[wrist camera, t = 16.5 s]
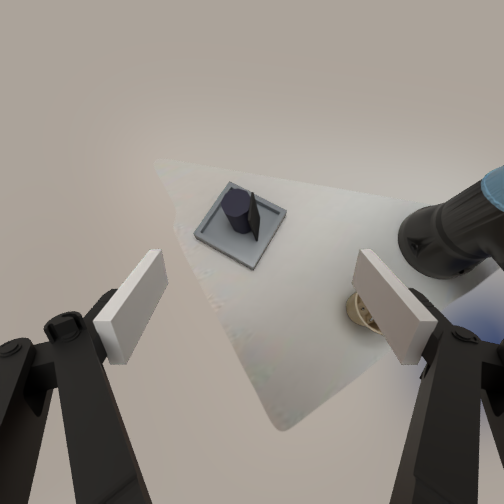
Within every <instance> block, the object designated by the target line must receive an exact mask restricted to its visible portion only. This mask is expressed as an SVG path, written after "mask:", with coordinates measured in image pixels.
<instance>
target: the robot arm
mask: <svg viewBox="0 0 504 504" xmlns="http://www.w3.org/2000/svg"><path fill="white" fill-rule="evenodd" d="M398 240H399V246H400V249H401V251H402V254H403V255H404V257H405V259H406V260H407V261H408V262H409V263H410V264H411V265H412V266H413V267H414V268H415V269H416V270H418V271H419V272H421V273H423V274H425V275H427V276H430V277H433V278H438V279H448V278H453V277H457V276H461V275H463V274H466V273H468V272H469V271H471V270H472V269H473V268H475V267H476V266H477V265H478V264H480V263H481V262H482V261H484V260H485V259H486V258H488V257H492V258H493V259H494V260H495V262H496V263H497V264H498V265H499V266H500V267H501V269H502V270H503V271H504V165H503V166H502V167H499V168H497V169H494V170H492V171H491V172H489V173H488V174H486V175H485V177H484V178H483V179H481V180H480V181H478V182H477V183H475V184H474V185H472V186H470V187H469V188H467V189H466V190H464V191H462V192H461V193H459V194H458V195H456V196H455V197H453V198H451V199H450V200H448V201H447V202H445V203H442V204H438V205H434V206H428V207H424V208H421V209H419V210H417V211H415V212H414V213H412V214H411V215H410V216H408V217H407V218H406V219H405V220H404V221H403V223H402V224H401V227H400V229H399V234H398ZM167 285H168V280H167V275H166V269H165V264H164V259H163V254H162V250H161V249H150V250H149V251H148V253H147V254H146V255H145V256H144V257H143V259H142V260H141V261H140V262H139V264H138V265H137V266H136V267H135V269H134V270H133V271H132V273H131V274H130V275H129V276H128V277H127V279H126V280H125V281H124V282H123V284H122V285H121V286H120V288H119V289H111V290H110V291H108V292H107V293H105V294H104V295H103V296H102V297H101V298H100V299H99V300H98V302H97V303H96V304H95V305H94V306H93V308H91V310H90V311H89V312H88V313H87V314H86V315H85V317H84V318H82V315H81V314H80V313H79V312H75V311H73V312H66V313H62V314H60V315H58V316H55V317H54V318H52V319H51V320H49V321H48V322H47V323H46V325H45V326H44V332H45V333H46V335H47V337H48V339H49V342H44V343H40V344H36V345H33V344H32V342H31V340H29V339H28V338H18V339H14V340H11V341H8V342H6V343H4V344H3V345H1V346H0V504H28V500H29V496H30V491H31V487H32V482H33V477H34V473H35V469H36V465H37V460H38V456H39V451H40V447H41V442H42V437H43V433H44V429H45V424H46V420H47V415H48V411H49V406H50V402H51V397H52V393H53V389H54V388H57V387H58V389H59V396H60V403H61V409H62V416H63V422H64V428H65V434H66V441H67V447H68V454H69V460H70V467H71V473H72V479H73V485H74V492H75V499H76V504H152V502H151V499H150V496H149V493H148V490H147V488H146V485H145V482H144V479H143V476H142V473H141V471H140V468H139V465H138V462H137V460H136V456H135V454H134V451H133V448H132V445H131V442H130V440H129V437H128V434H127V431H126V428H125V426H124V423H123V420H122V417H121V414H120V412H119V409H118V406H117V403H116V400H115V397H114V395H113V392H112V389H111V386H110V383H109V380H108V378H107V375H106V372H105V370H104V367H103V364H102V363H103V362H104V360H105V358H106V357H107V358H108V360H109V363H110V364H127V362H128V360H129V358H130V356H131V354H132V353H133V351H134V348H135V347H136V345H137V343H138V341H139V339H140V337H141V335H142V333H143V331H144V329H145V327H146V325H147V324H148V321H149V320H150V318H151V316H152V314H153V312H154V310H155V308H156V306H157V304H158V302H159V300H160V298H161V296H162V294H163V293H164V290H165V289H166V287H167ZM352 285H353V286H354V288H355V290H356V291H357V293H358V294H359V296H360V298H361V299H362V301H363V303H364V304H365V306H366V307H367V309H368V311H369V312H370V314H371V316H372V317H373V319H374V321H375V322H376V324H377V325H378V327H379V329H380V330H381V332H382V334H383V335H384V337H385V338H386V340H387V342H388V343H389V345H390V347H391V348H392V350H393V352H394V353H395V355H396V356H397V358H398V360H399V361H400V363H401V365H406V364H407V365H410V364H411V365H417V364H418V363H419V361H420V358H421V356H423V358H424V359H425V360H426V362H427V364H426V366H425V368H424V370H423V372H422V374H421V376H420V379H421V384H420V388H419V392H418V395H417V399H416V403H415V407H414V411H413V415H412V418H411V422H410V426H409V430H408V434H407V438H406V442H405V445H404V450H403V453H402V457H401V461H400V465H399V469H398V472H397V476H396V480H395V484H394V488H393V492H392V496H391V499H390V503H389V504H478V469H479V436H480V401H481V400H482V403H483V406H484V409H485V412H486V415H487V419H488V422H489V425H490V428H491V431H492V434H493V437H494V440H495V443H496V447H497V450H498V453H499V456H500V459H501V462H502V465H503V468H504V339H503V340H502V342H501V343H500V345H499V344H495V343H490V342H485V341H481V340H480V339H479V338H478V336H477V335H475V334H474V333H473V332H471V331H469V330H467V329H465V328H463V327H460V326H454V325H452V324H451V323H450V322H449V321H448V320H447V319H446V318H445V317H444V315H443V314H442V313H441V312H440V311H439V310H438V309H437V308H436V307H434V305H433V304H432V303H431V302H429V300H428V299H427V298H426V297H425V296H424V295H423V294H421V293H420V292H418V291H417V290H415V289H413V288H407V287H406V286H405V285H404V284H403V283H402V282H401V281H400V280H399V279H398V277H397V276H396V275H395V274H394V273H393V272H392V271H391V270H390V269H389V268H388V267H387V266H386V265H385V263H384V262H383V261H382V260H381V259H380V258H379V257H378V256H377V255H376V254H375V253H374V252H373V251H372V249H360V250H359V254H358V259H357V263H356V267H355V272H354V276H353V280H352ZM480 399H481V400H480Z"/></svg>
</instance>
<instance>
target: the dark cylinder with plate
mask: <svg viewBox="0 0 504 504" xmlns="http://www.w3.org/2000/svg"><path fill="white" fill-rule="evenodd" d="M221 208H222V209H223V211H224V213H225V215H226V217H227V218H228V220H229V222H230V224H231V226H232V227H233V229H234V231H236V232H238V233H241V234H246V233H248V232H250V231H252V232H253V235H254V237H255V240H256V241H258V236H259V227H260V215H259V211H258V207H257V203H256V200H255V196H254V192H251V197H250V195H249V194H248V192H247V191H245V190H242V189H239V188H237V189H232V190H231V191H229V192H227V193H226V194H225V195H224V197H223V199H222V201H221Z"/></svg>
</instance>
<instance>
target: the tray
mask: <svg viewBox="0 0 504 504" xmlns="http://www.w3.org/2000/svg"><path fill="white" fill-rule="evenodd" d="M237 188H239V189H242V190H245V191H247V192H248V194H249V195H250V197H251V192H249V191H248V190H246V189H244V188H242V187H240V186H238V185H236V184H234V183H232V182H230V181H229V183H228V184H227V186H226V187H225V189H224V190H223V191H222V193H221V194H220V196H219V197H218V199H217V200H216V202H215V203H214V204H213V206H212V207H211V209H210V210H209V212H208V213H207V215H206V216H205V217H204V219H203V220H202V222H201V223H200V225H199V226H198V228H197V229H196V230H195V232H194V233H193V234H194V236H195V237H196V238H197V239H198V240H200V241H202V242H204V243H206V244H207V245H209V246H211V247H213V248H214V249H216V250H218V251H220V252H222V253H223V254H225V255H227V256H229V257H230V258H232V259H234V260H236V261H237V262H239V263H241V264H243V265H245V266H246V267H248V268H250V269H252V270H254V268H255V267H256V265H257V263H258V262H259V260H260V258H261V257H262V255H263V253H264V251H265V250H266V248H267V246H268V245H269V243H270V241H271V240H272V238H273V236H274V234H275V233H276V231H277V229H278V228H279V226H280V224H281V223H282V221H283V219H284V217H285V216H286V212H287V210H285V209H283V208H281V207H279V206H277V205H275V204H273V203H271V202H269V201H267V200H265V199H263V198H261V197H259V196H257V195H255V194H254V196H255V200H256V203H257V207H258V211H259V215H260V227H259V236H258V241H256V240H255V237H254V235H253V232H252V231H250V232H248V233H246V234H241V233H238V232H236V231H234V229H233V227H232V226H231V224H230V222H229V220H228V218H227V217H226V215H225V213H224V211H223V209H222V208H221V201H222V199H223V197H224V195H225V194H226V193H227V192H229V191H231V190H232V189H237Z"/></svg>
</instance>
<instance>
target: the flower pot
mask: <svg viewBox="0 0 504 504" xmlns="http://www.w3.org/2000/svg"><path fill="white" fill-rule="evenodd" d="M346 308H347V314H348V316H349V317H350V319H351V320H352V321H353V322H355V323H356V324H358V325H362V326H366V327H368V328H369V329H370V330H372V331H374V332H376V333H378V334H381V335H383V334H382V332H381V330H380V329H379V327H378V325H377V324H376V322H375V321H374V319H373V320H372V321H370V319H371V318H372V316H371V314H370V312H369V311H368V309H367V307H366V306H365V304H364V303H363V301H362V299H361V298H360V296H359V294H358V293H357V291H356V293H354V294H353V295H352V296H350V297H349V299H348V301H347V304H346ZM362 308H364V310H362Z"/></svg>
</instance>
